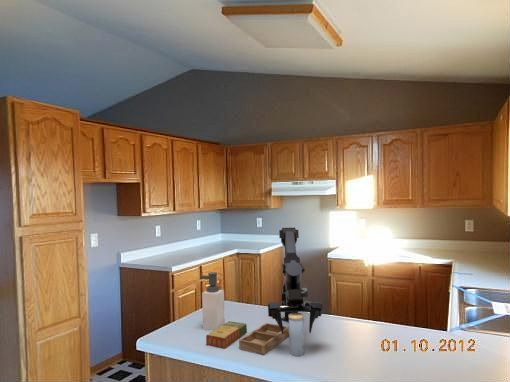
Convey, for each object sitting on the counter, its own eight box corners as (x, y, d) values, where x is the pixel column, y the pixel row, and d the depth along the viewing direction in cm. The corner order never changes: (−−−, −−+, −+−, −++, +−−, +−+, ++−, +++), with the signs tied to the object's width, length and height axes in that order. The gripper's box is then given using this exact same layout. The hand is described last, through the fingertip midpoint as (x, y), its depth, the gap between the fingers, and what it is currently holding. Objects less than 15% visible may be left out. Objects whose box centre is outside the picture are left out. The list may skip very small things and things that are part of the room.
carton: (205, 346, 133) (205, 334, 133) (229, 330, 148) (228, 319, 148) (225, 350, 130) (225, 337, 130) (247, 333, 144) (247, 322, 144)
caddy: (266, 330, 146) (266, 322, 146) (289, 335, 140) (288, 327, 140) (239, 349, 129) (238, 340, 129) (264, 355, 124) (263, 345, 124)
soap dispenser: (206, 322, 156) (204, 270, 156) (224, 325, 153) (223, 271, 153) (197, 328, 150) (196, 273, 150) (217, 330, 147) (215, 275, 147)
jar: (293, 348, 128) (292, 311, 128) (306, 351, 126) (305, 314, 126) (286, 354, 124) (285, 316, 124) (300, 357, 122) (299, 318, 122)
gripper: (267, 279, 130) (268, 322, 119) (321, 278, 129) (326, 321, 118) (268, 295, 138) (268, 337, 127) (318, 295, 137) (323, 336, 126)
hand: (296, 332), depth 124 cm, fingers open, 9 cm apart
